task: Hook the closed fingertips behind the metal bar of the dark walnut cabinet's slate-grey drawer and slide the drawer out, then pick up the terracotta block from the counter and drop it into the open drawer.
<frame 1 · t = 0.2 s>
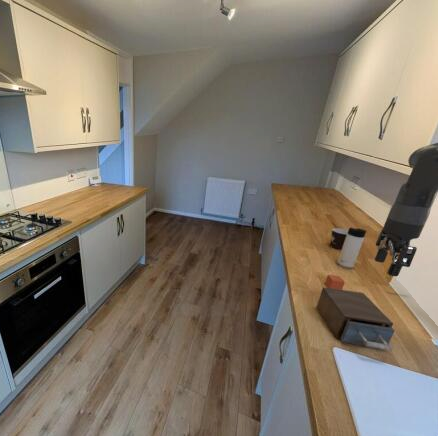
hand: (385, 268, 73), 23 cm above the counter, tool pointing down, fingers open, 8 cm apart
coffee mug: (336, 248, 135), on the counter
travel mug: (345, 266, 117), on the counter
drawer: (359, 325, 75), point 5 cm above the counter, slide at 0.8 cm
block: (333, 286, 101), on the counter
cabinet: (346, 325, 81), on the counter
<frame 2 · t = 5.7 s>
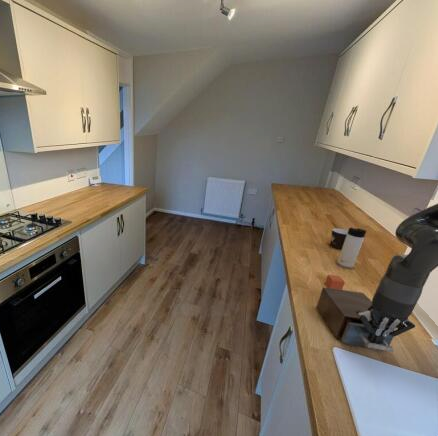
hand: (373, 342, 68), 5 cm above the counter, tool pointing down, fingers closed
drawer: (359, 326, 74), point 5 cm above the counter, slide at 1.3 cm, touching gripper
everything else where it was.
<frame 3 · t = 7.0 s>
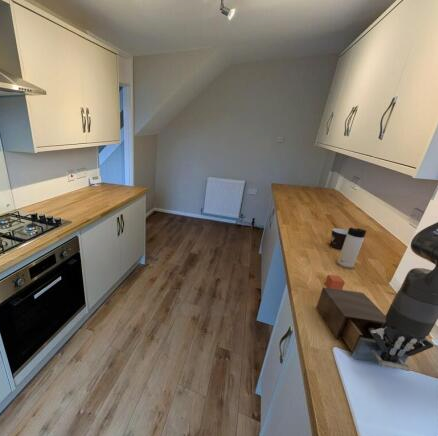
hand: (386, 362, 63), 4 cm above the counter, tool pointing down, fingers closed
drawer: (371, 341, 69), point 5 cm above the counter, slide at 7.0 cm, touching gripper
everything else where it was.
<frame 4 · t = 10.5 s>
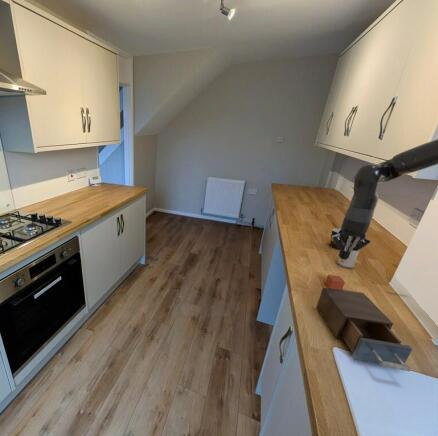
hand: (342, 258, 94), 15 cm above the counter, tool pointing down, fingers closed
drawer: (371, 341, 69), point 5 cm above the counter, slide at 7.1 cm
everything else where it was.
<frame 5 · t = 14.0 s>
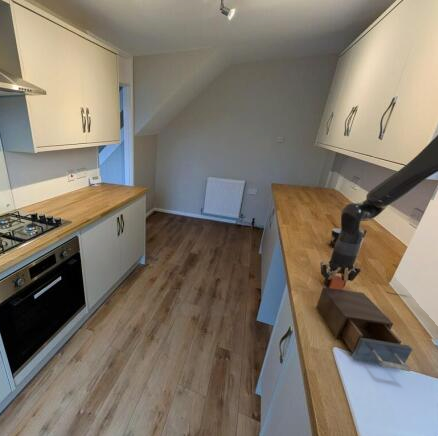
hand: (333, 286, 101), 0 cm above the counter, tool pointing down, fingers closed on block, 4 cm apart
block: (333, 286, 101), on the counter, touching gripper
everything else where it was.
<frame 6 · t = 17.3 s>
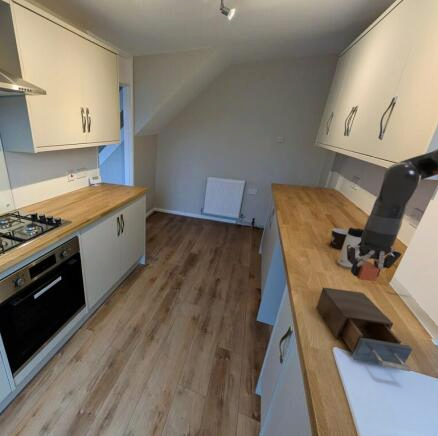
hand: (363, 275, 79), 17 cm above the counter, tool pointing down, fingers closed on block, 4 cm apart
block: (362, 276, 79), point 17 cm above the counter, touching gripper
everything else where it was.
when the fingers open (9 cm above the counter, at t = 20.5 s): block drops 5 cm and tips over, resting on drawer.
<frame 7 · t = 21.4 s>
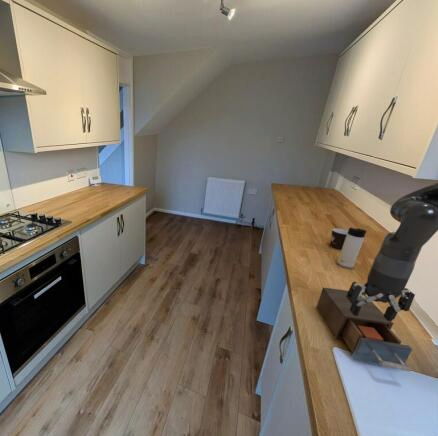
hand: (370, 316, 70), 10 cm above the counter, tool pointing down, fingers open, 8 cm apart
drawer: (371, 341, 69), point 5 cm above the counter, slide at 7.1 cm, touching block
block: (362, 331, 73), point 4 cm above the counter, tilted 90°, touching drawer
everything else where it was.
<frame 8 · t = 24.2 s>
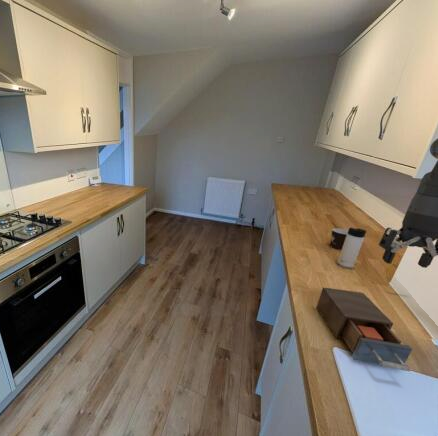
hand: (404, 264, 69), 26 cm above the counter, tool pointing down, fingers open, 8 cm apart
nothing on the counter moved.
at the end: drawer slide at 7.1 cm; block inside the target area in the drawer (0.2 cm from its centre), point 4.2 cm above the cabinet's base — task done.
